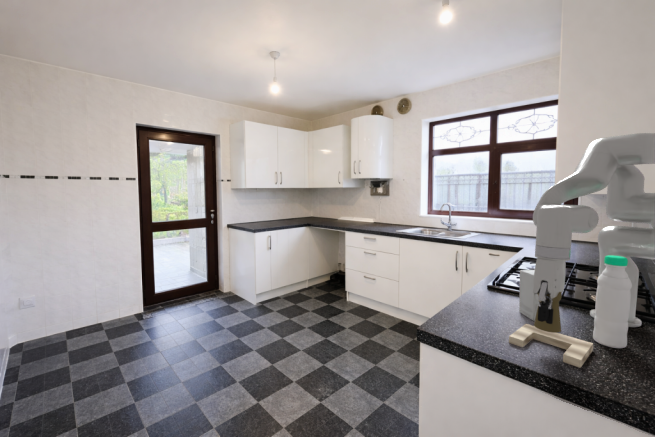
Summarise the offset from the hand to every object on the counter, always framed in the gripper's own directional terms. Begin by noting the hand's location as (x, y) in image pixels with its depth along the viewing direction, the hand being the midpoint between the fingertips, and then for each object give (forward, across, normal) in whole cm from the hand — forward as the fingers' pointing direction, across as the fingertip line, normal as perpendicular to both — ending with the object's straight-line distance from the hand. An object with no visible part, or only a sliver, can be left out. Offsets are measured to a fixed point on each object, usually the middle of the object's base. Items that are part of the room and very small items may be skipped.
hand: (547, 319), depth 81 cm
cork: (+2, 0, 0) cm, 2 cm away
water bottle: (+9, -19, +10) cm, 23 cm away
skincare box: (+9, -24, -10) cm, 27 cm away
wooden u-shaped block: (+9, -3, 0) cm, 9 cm away
